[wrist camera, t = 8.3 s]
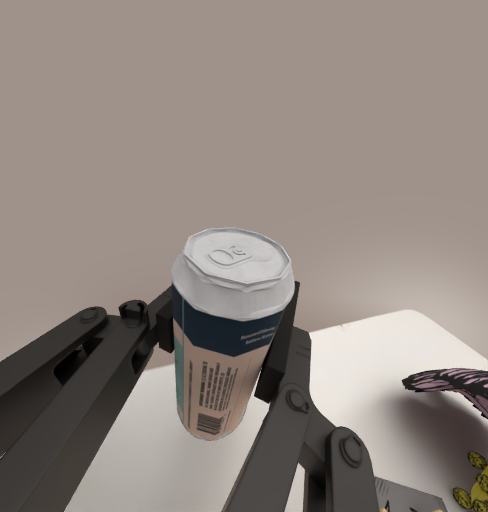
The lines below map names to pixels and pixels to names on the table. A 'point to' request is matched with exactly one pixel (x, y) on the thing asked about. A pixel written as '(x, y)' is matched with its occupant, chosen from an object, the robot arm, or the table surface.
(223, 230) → the beer can
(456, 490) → the decorative flower
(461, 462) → the table surface
